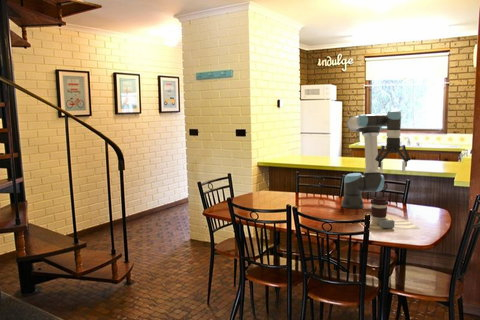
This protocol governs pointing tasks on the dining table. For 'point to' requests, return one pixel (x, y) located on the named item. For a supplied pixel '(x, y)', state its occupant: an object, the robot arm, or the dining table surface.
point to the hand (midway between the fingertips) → (392, 172)
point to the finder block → (386, 223)
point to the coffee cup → (378, 209)
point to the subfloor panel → (397, 225)
